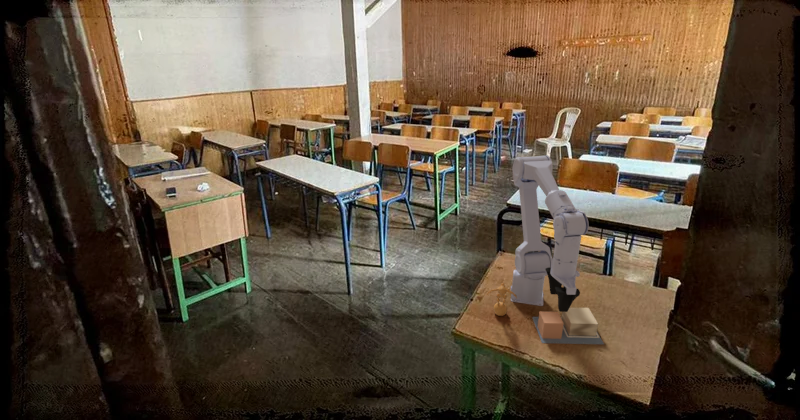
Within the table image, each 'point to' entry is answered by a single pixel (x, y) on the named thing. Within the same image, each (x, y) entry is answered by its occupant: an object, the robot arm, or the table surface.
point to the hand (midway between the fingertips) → (558, 302)
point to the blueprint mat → (569, 337)
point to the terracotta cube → (550, 325)
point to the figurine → (499, 307)
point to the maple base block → (579, 322)
